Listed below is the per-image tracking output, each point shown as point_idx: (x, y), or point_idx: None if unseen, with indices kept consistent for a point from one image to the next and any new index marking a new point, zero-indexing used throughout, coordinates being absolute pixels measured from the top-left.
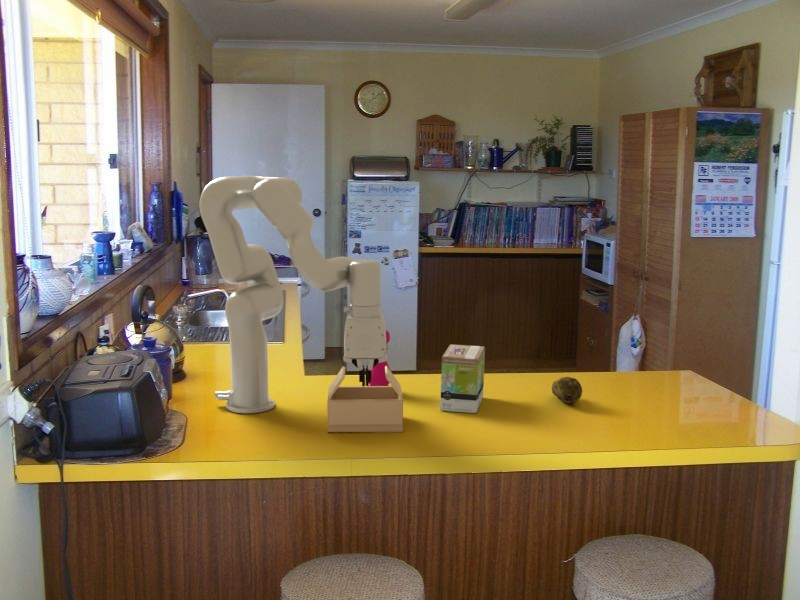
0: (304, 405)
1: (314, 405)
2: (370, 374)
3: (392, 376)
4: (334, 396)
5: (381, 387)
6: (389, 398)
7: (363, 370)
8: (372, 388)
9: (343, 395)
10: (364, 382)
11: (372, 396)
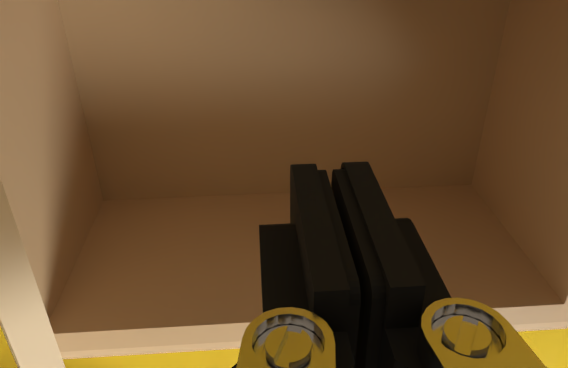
0: (565, 334)
1: (521, 336)
2: (275, 279)
3: (12, 352)
4: (514, 257)
5: (178, 324)
6: (130, 266)
7: (400, 300)
8: (251, 313)
9: (455, 265)
10: (346, 185)
11: (250, 270)
